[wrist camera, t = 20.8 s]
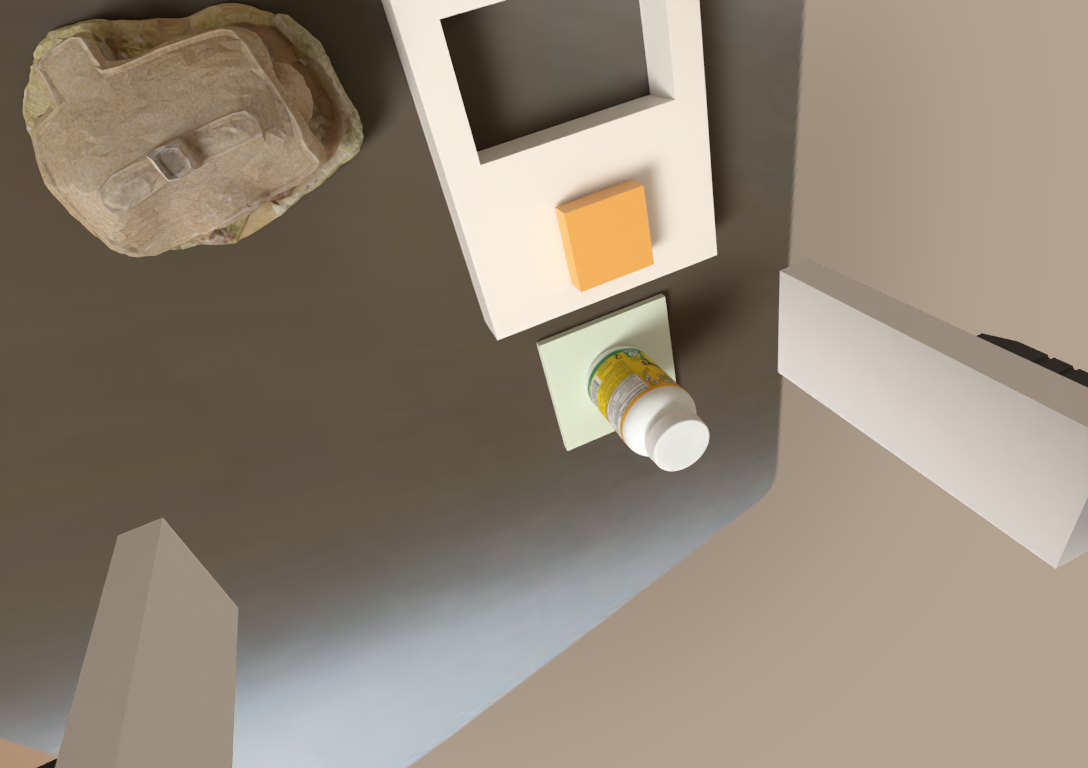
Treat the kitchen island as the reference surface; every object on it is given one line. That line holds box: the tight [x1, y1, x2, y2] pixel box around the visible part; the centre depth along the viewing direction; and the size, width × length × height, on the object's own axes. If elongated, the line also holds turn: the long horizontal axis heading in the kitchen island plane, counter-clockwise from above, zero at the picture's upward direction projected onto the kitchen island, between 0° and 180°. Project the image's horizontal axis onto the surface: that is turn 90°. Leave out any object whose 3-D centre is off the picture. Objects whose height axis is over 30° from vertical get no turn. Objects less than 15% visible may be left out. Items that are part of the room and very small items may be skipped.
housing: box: [381, 0, 717, 340], centre depth 36 cm, size 16×20×3 cm
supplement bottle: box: [586, 346, 709, 471], centre depth 43 cm, size 5×5×10 cm
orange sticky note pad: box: [555, 180, 654, 292], centre depth 38 cm, size 5×5×4 cm
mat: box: [536, 294, 676, 451], centre depth 47 cm, size 10×10×1 cm
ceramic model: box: [23, 3, 364, 258], centre depth 27 cm, size 14×11×10 cm
